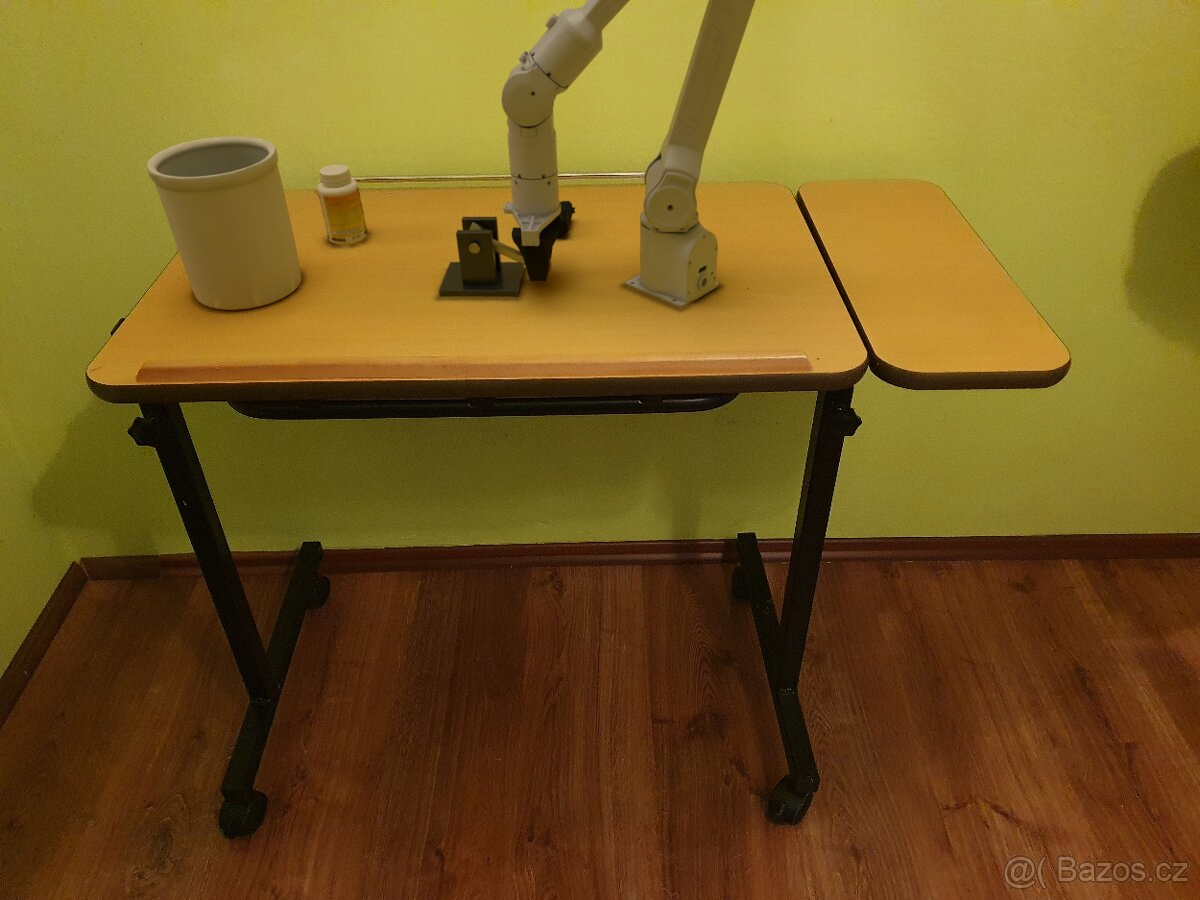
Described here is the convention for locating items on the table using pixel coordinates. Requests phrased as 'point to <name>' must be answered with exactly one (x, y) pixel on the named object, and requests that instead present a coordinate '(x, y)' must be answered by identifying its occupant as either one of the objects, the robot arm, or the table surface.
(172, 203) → the utensil holder
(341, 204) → the supplement bottle
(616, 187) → the table surface
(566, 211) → the tape measure
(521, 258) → the lever
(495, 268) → the switch bracket
